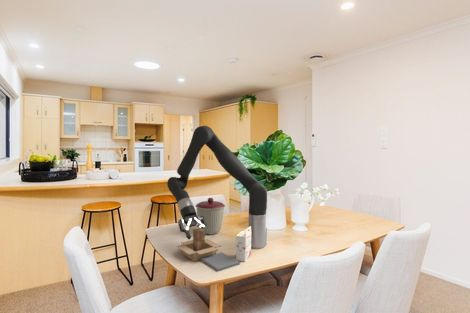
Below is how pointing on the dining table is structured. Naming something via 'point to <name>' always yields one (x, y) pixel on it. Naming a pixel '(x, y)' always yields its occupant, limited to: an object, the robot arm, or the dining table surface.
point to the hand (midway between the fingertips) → (197, 236)
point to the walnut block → (198, 239)
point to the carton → (196, 255)
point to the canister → (211, 215)
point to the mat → (219, 261)
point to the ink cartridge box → (243, 245)
